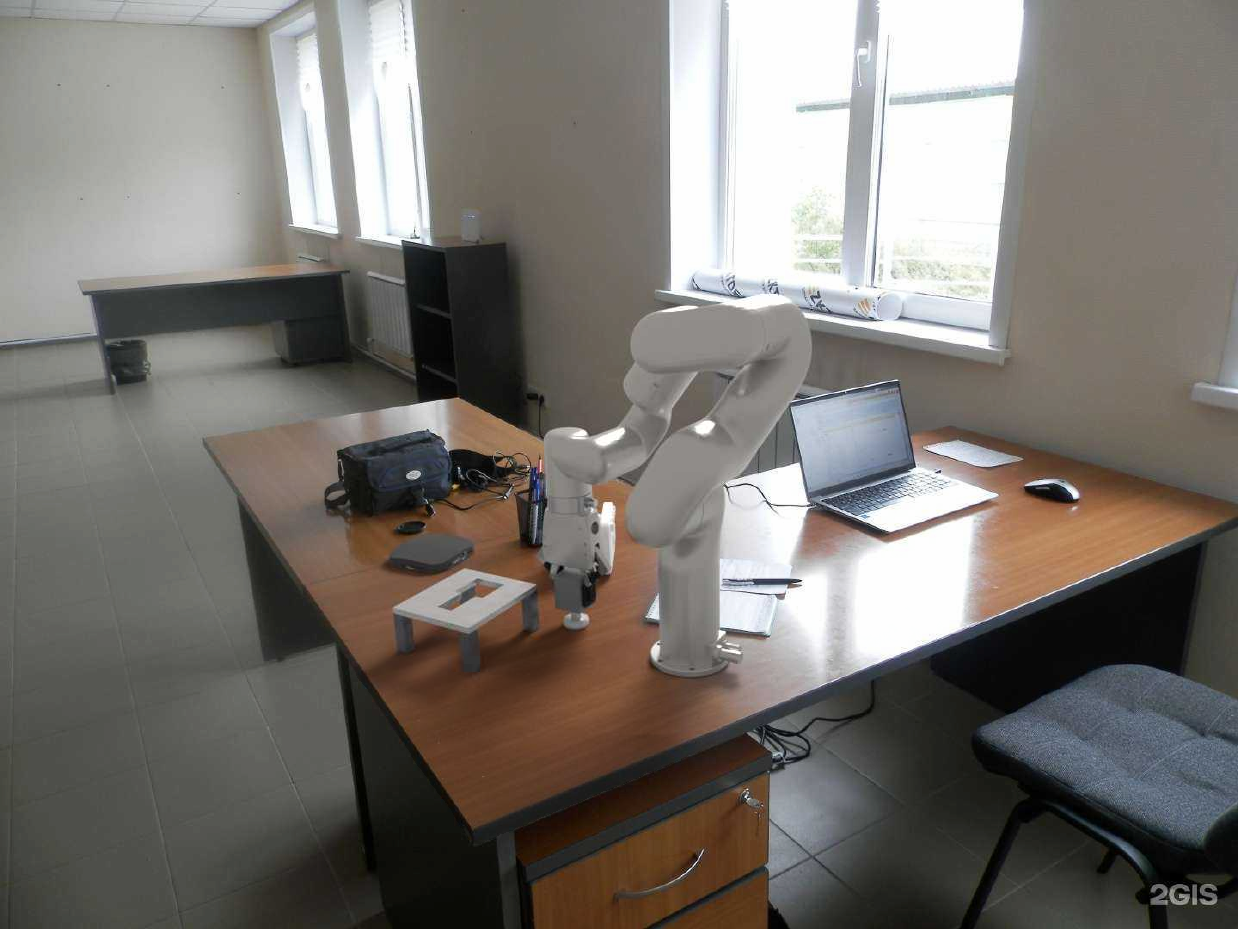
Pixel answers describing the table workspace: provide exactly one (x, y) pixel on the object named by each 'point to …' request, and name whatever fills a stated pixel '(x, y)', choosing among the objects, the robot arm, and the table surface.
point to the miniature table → (465, 610)
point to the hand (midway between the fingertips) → (575, 600)
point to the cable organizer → (608, 532)
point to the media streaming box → (431, 553)
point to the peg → (570, 597)
